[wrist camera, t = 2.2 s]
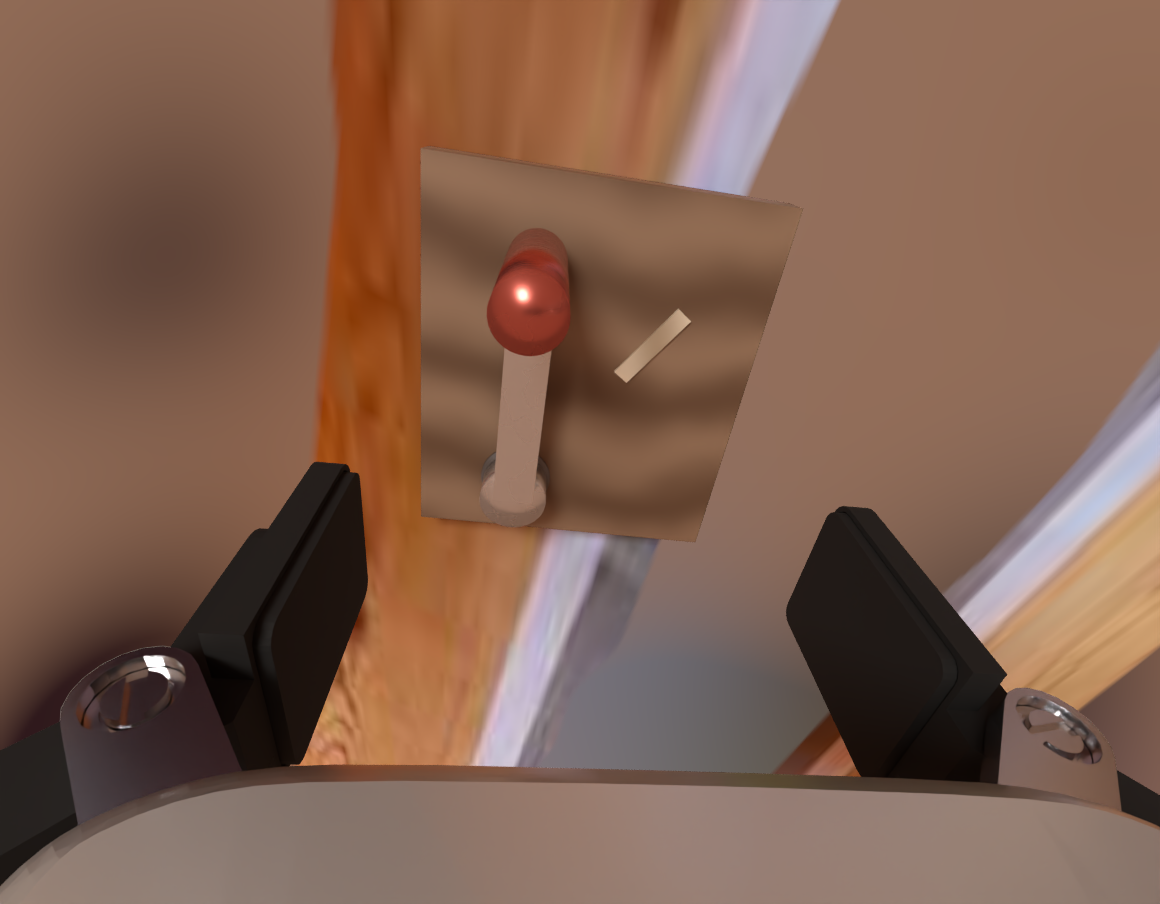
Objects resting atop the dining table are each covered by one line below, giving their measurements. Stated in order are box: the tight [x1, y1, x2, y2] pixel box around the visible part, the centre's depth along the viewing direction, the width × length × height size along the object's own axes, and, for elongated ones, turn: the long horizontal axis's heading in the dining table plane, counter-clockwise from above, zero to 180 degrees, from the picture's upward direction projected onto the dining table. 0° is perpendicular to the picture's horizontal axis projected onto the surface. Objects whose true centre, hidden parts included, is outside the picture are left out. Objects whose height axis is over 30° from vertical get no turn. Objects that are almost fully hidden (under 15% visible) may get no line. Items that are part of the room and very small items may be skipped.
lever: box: [479, 228, 571, 527], centre depth 28 cm, size 18×4×10 cm, turn 172°
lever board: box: [421, 146, 803, 542], centre depth 34 cm, size 22×19×2 cm
